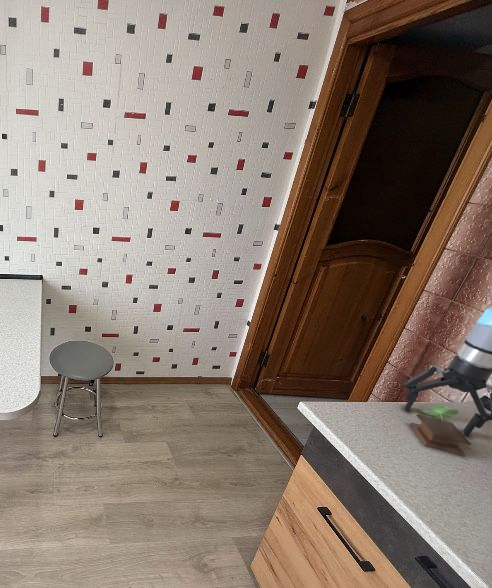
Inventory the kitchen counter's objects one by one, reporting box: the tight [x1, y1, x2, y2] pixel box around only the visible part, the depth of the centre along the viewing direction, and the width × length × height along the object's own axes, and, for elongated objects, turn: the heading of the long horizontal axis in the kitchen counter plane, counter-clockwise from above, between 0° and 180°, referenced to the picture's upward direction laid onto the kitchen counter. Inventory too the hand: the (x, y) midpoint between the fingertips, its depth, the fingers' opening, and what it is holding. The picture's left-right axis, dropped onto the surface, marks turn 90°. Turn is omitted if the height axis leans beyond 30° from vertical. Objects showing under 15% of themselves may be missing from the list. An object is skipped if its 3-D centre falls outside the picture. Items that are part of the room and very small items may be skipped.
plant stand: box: [409, 413, 472, 457], centre depth 91 cm, size 8×8×4 cm
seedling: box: [420, 405, 460, 420], centre depth 97 cm, size 7×8×7 cm
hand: (434, 420), depth 99 cm, fingers open, 12 cm apart
